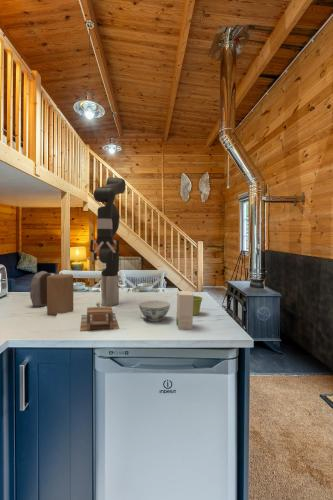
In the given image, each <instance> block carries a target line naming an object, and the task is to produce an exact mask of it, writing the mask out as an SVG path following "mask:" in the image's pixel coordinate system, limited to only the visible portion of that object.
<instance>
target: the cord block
mask: <svg viewBox="0 0 333 500" xmlns="http://www.w3.org/2000/svg"><path fill="white" fill-rule="evenodd" d="M95 307H101V301H97V302H96V303H95ZM103 320H106V314H96V315H92V321H103Z"/></svg>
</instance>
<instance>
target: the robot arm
mask: <svg viewBox="0 0 333 500" xmlns="http://www.w3.org/2000/svg"><path fill="white" fill-rule="evenodd" d="M105 183H106V185H104V186H100V187H96V188H95V189H94V191H93V199H94V200H95V201H96V202H98V203H105V205H104V206H99V207H98V208H97V222H96V239H91V240H90V245H89V247H90V249H89V251H90V252H91V253H93V260H94V261H95V262H96V261H98V259H99V261H100V263H102V264H105V268H104V269H102V270H101V276H100V277H101V301H100V303H101V305H102V307H108V306H111V307H113V306H114V307H115V306H116V305H119V302H120V297H119V296H120V294H119V293H120V290H119V287H118V274H119V273H118V272H119V269H120V254H119V252H120V240H119V239H116V240H115V239H114V237H115V235H116V233H118V229H119V226H120V219H121V218H120V213H119V210H118V209H117V207H116V205H115V200H116V196H117V195H120V194H124V193H125V191H126V180H125V179H124V178H121V177H114V176H113V177H111V176H110V177H107V179H106V182H105ZM95 243H96V244H97V247H96V248H95V249H94V245H95ZM113 244H114V245H115V248H114V247H113V246H112V245H113ZM98 251H99V252H98ZM97 254H98V255H97Z"/></svg>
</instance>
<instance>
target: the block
mask: <svg viewBox="0 0 333 500" xmlns="http://www.w3.org/2000/svg"><path fill="white" fill-rule="evenodd" d="M72 312H74V275H73V274H71V273H70V274H66V273H55V274H51V275H50V276H47V305H46V314H47V315H48V316H49V315H50V316H57V315H58V314H66V313H72Z"/></svg>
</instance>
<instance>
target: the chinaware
mask: <svg viewBox="0 0 333 500" xmlns="http://www.w3.org/2000/svg"><path fill="white" fill-rule="evenodd" d="M138 307H139V310H140V312H141V314H142V315H143V316H144V317H145V318H146V319H147V321H148V320H149V321H148V322H160V321H162V318H164V317H165V316H166V315H167V314H168V312H169V310H170V307H171V303H170V302H168V301H163V300H145V301H142V302H139V303H138ZM159 320H160V321H159Z"/></svg>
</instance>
